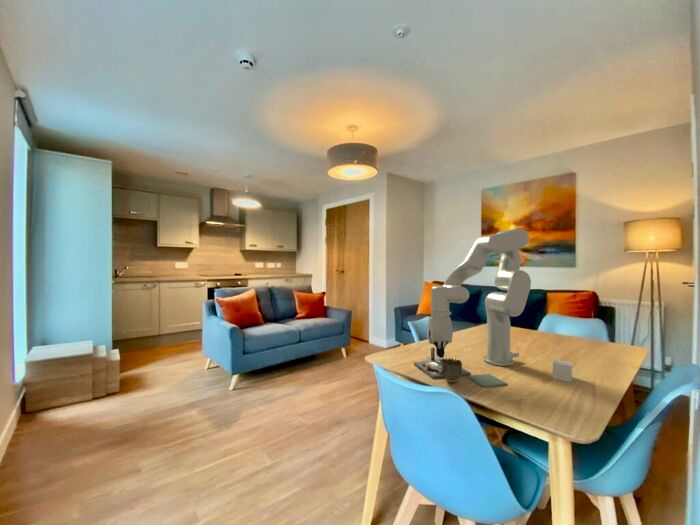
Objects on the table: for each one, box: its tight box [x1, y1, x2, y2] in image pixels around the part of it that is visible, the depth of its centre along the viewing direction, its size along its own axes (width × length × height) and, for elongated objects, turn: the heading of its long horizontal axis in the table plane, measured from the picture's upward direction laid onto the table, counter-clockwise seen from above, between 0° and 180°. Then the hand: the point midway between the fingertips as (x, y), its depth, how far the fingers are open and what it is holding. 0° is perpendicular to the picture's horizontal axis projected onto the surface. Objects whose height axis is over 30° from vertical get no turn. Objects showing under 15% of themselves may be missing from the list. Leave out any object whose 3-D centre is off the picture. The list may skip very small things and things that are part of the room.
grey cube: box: [552, 359, 573, 383], centre depth 118 cm, size 6×6×6 cm
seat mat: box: [466, 373, 508, 388], centre depth 115 cm, size 10×10×1 cm
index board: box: [413, 361, 471, 380], centre depth 127 cm, size 17×17×1 cm
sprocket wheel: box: [421, 347, 455, 373], centre depth 127 cm, size 15×15×6 cm
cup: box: [441, 358, 463, 384], centre depth 113 cm, size 8×7×8 cm
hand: (440, 356), depth 132 cm, fingers closed
